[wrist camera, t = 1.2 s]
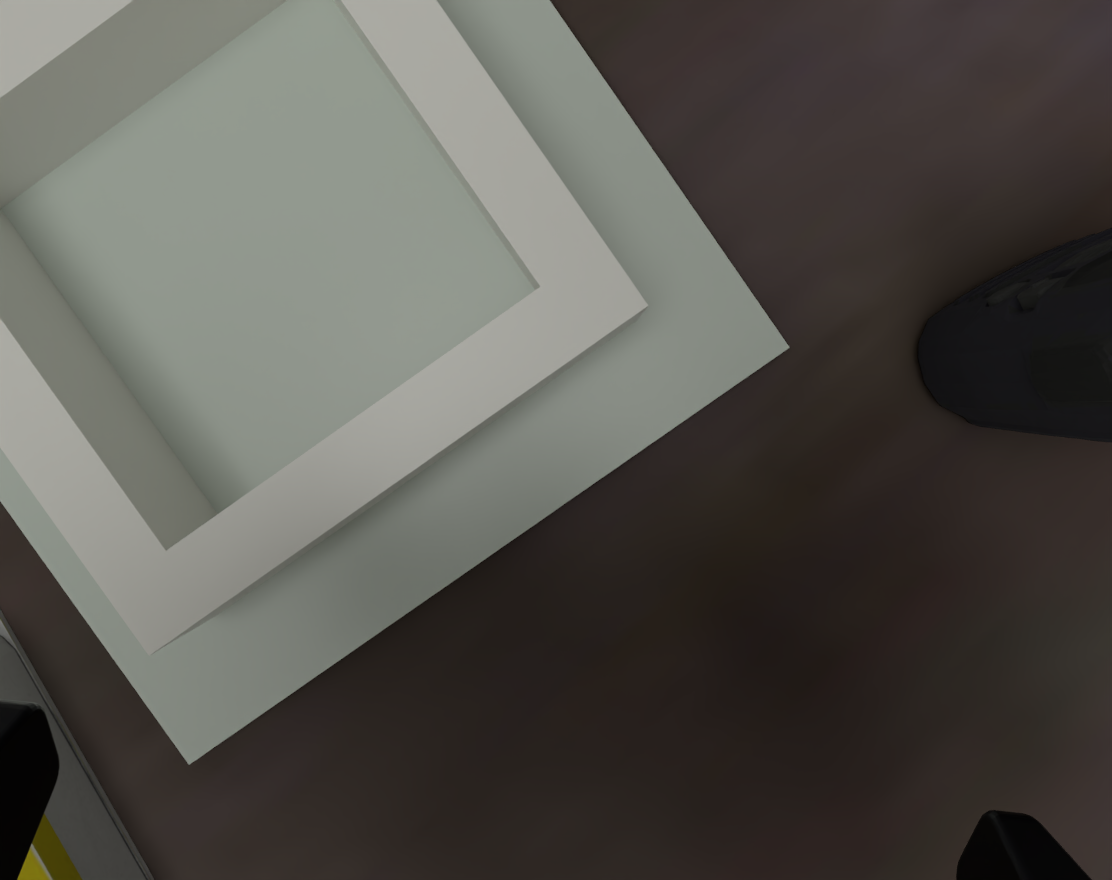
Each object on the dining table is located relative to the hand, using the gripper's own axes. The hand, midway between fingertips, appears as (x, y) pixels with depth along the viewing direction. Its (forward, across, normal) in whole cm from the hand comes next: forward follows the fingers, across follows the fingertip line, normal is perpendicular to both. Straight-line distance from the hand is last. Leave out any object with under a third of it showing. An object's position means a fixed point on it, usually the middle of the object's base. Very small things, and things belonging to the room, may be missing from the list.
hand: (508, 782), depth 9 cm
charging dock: (+15, +7, +2) cm, 17 cm away
